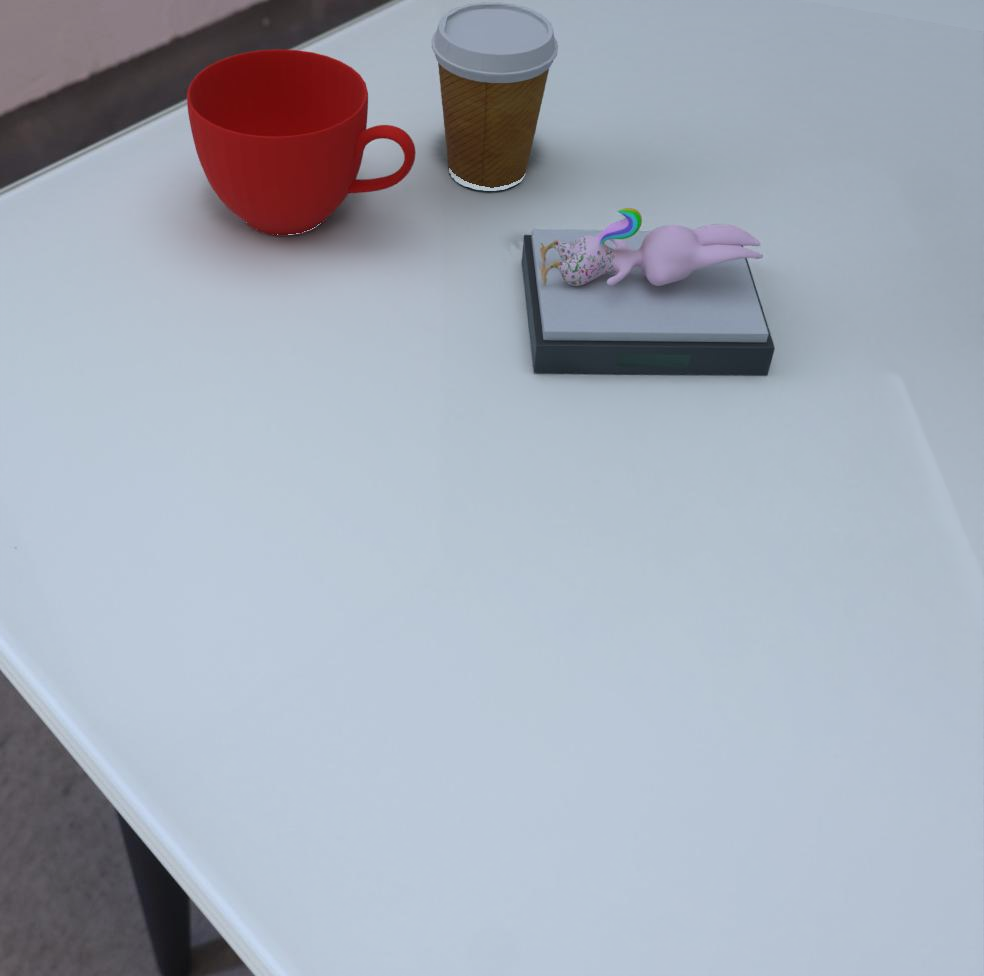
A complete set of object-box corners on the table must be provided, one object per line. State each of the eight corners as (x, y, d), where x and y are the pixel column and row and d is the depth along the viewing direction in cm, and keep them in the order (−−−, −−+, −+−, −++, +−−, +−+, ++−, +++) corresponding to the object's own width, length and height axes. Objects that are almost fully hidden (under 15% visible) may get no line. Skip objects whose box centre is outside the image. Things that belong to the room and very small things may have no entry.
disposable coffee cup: (471, 129, 110) (478, -12, 102) (568, 166, 107) (583, 23, 98) (404, 176, 105) (406, 31, 96) (503, 217, 101) (514, 70, 93)
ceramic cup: (382, 288, 95) (382, 164, 87) (170, 239, 98) (153, 116, 91) (440, 196, 103) (444, 77, 96) (243, 154, 107) (233, 36, 99)
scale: (734, 264, 98) (743, 227, 96) (767, 375, 89) (778, 338, 87) (521, 261, 97) (524, 224, 95) (533, 373, 89) (537, 335, 86)
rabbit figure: (543, 317, 90) (767, 297, 88) (536, 244, 85) (771, 221, 84) (542, 264, 94) (754, 244, 92) (535, 192, 90) (757, 169, 88)
